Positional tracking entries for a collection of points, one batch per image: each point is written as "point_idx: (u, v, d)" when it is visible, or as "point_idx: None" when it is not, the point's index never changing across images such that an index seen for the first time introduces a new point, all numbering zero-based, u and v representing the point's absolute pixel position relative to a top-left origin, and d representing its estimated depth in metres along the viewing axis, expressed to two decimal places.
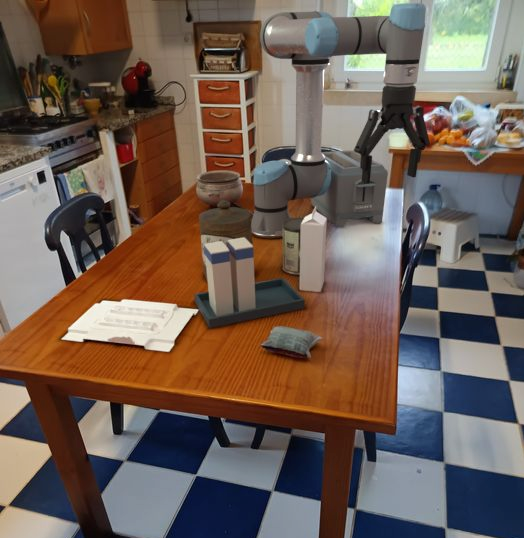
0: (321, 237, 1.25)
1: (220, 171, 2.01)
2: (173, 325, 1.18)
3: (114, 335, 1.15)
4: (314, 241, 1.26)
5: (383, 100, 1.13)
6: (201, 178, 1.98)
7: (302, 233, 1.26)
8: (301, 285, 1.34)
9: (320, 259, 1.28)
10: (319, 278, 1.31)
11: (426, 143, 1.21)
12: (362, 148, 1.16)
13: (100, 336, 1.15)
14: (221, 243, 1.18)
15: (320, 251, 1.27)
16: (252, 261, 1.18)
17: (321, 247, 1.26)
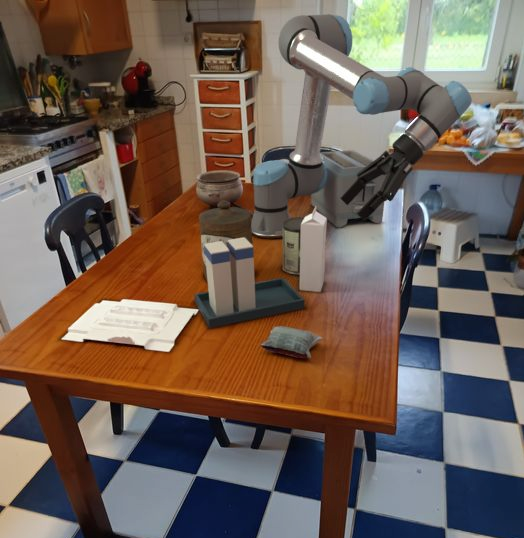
0: (321, 237, 1.25)
1: (220, 171, 2.01)
2: (173, 325, 1.18)
3: (114, 335, 1.15)
4: (314, 241, 1.26)
5: (410, 155, 1.17)
6: (201, 178, 1.98)
7: (302, 233, 1.26)
8: (301, 285, 1.34)
9: (320, 259, 1.28)
10: (319, 278, 1.31)
11: None
12: None
13: (100, 336, 1.15)
14: (221, 243, 1.18)
15: (320, 251, 1.27)
16: (252, 261, 1.18)
17: (321, 247, 1.26)
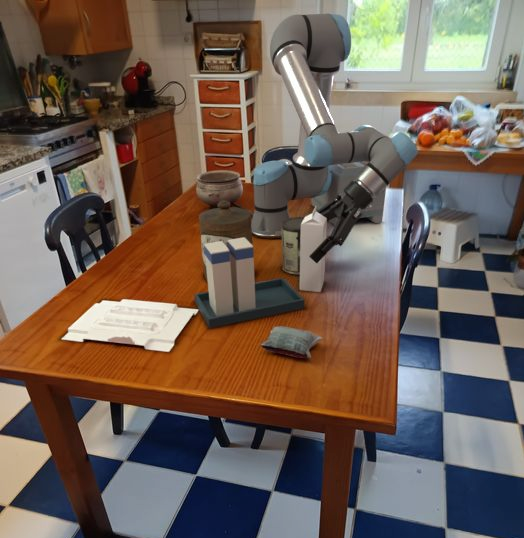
0: (321, 237, 1.25)
1: (220, 171, 2.01)
2: (173, 325, 1.18)
3: (114, 335, 1.15)
4: (314, 241, 1.26)
5: (359, 201, 1.21)
6: (201, 178, 1.98)
7: (302, 233, 1.26)
8: (301, 285, 1.34)
9: None
10: (319, 278, 1.31)
11: None
12: None
13: (100, 336, 1.15)
14: (221, 243, 1.18)
15: None
16: (252, 261, 1.18)
17: None
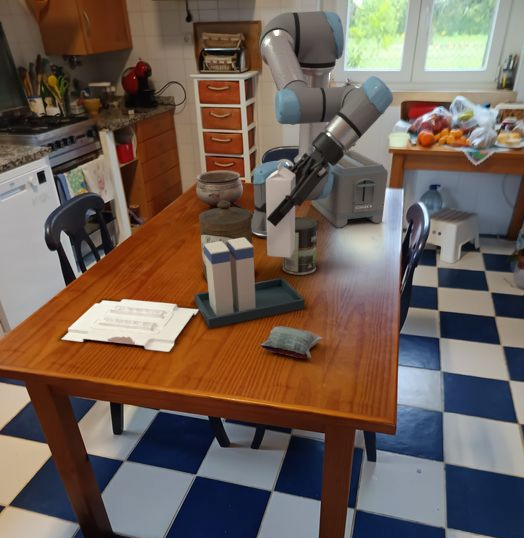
0: (289, 194, 1.13)
1: (220, 171, 2.01)
2: (173, 325, 1.18)
3: (114, 335, 1.15)
4: (281, 199, 1.14)
5: (328, 154, 1.09)
6: (201, 178, 1.98)
7: (268, 190, 1.13)
8: (269, 250, 1.21)
9: (288, 220, 1.16)
10: (288, 242, 1.19)
11: None
12: None
13: (100, 336, 1.15)
14: (221, 243, 1.18)
15: None
16: (252, 261, 1.18)
17: None
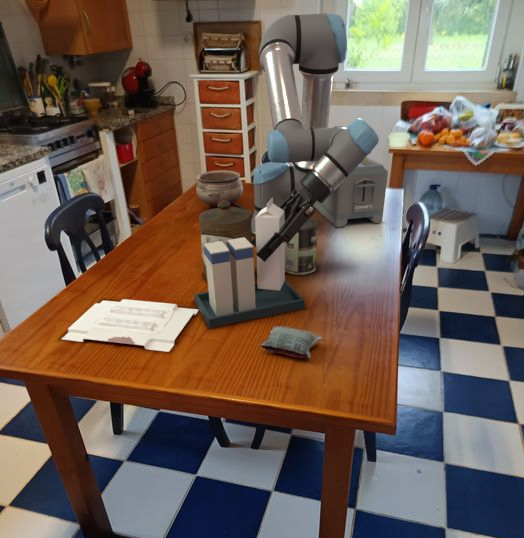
0: (277, 231, 1.16)
1: (220, 171, 2.01)
2: (173, 325, 1.18)
3: (114, 335, 1.15)
4: (271, 235, 1.17)
5: (316, 193, 1.12)
6: (201, 178, 1.98)
7: (257, 227, 1.16)
8: (259, 283, 1.25)
9: (278, 255, 1.19)
10: (278, 275, 1.22)
11: None
12: None
13: (100, 336, 1.15)
14: (221, 243, 1.18)
15: None
16: (252, 261, 1.18)
17: None
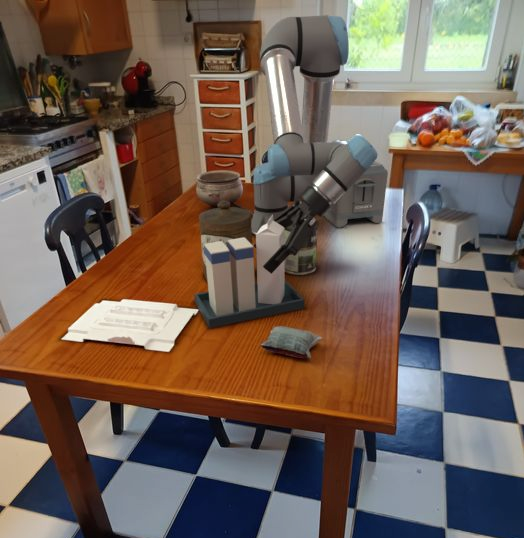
0: (278, 248, 1.18)
1: (220, 171, 2.01)
2: (173, 325, 1.18)
3: (114, 335, 1.15)
4: (271, 252, 1.19)
5: (315, 207, 1.14)
6: (201, 178, 1.98)
7: (258, 243, 1.19)
8: (259, 298, 1.27)
9: (278, 271, 1.21)
10: (278, 290, 1.24)
11: None
12: None
13: (100, 336, 1.15)
14: (221, 243, 1.18)
15: None
16: (252, 261, 1.18)
17: None
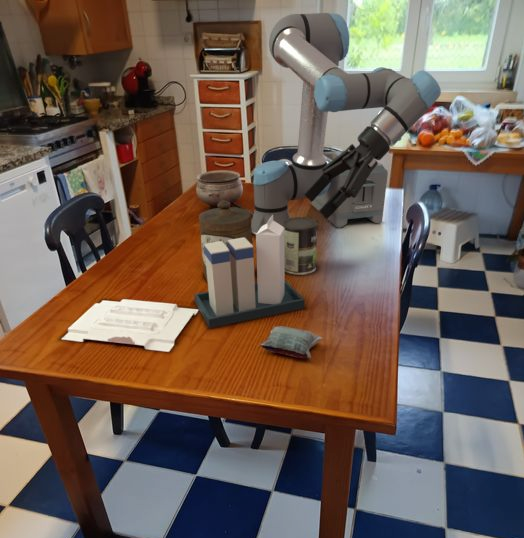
0: (278, 248, 1.18)
1: (220, 171, 2.01)
2: (173, 325, 1.18)
3: (114, 335, 1.15)
4: (271, 252, 1.19)
5: (375, 148, 1.10)
6: (201, 178, 1.98)
7: (258, 243, 1.19)
8: (259, 298, 1.27)
9: (278, 271, 1.21)
10: (278, 290, 1.24)
11: None
12: None
13: (100, 336, 1.15)
14: (221, 243, 1.18)
15: (277, 262, 1.20)
16: (252, 261, 1.18)
17: (278, 258, 1.19)
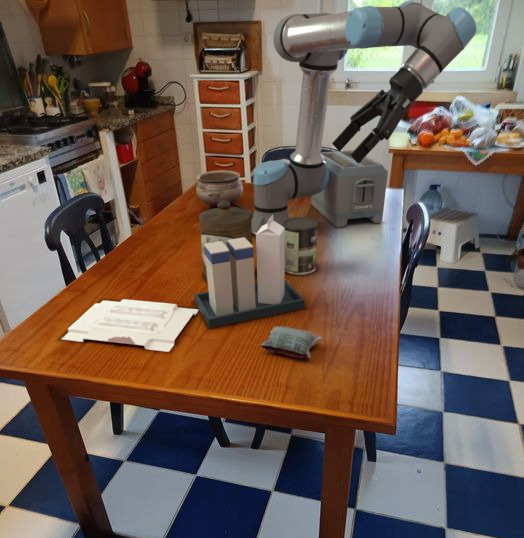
0: (278, 248, 1.18)
1: (220, 171, 2.01)
2: (173, 325, 1.18)
3: (114, 335, 1.15)
4: (271, 252, 1.19)
5: (408, 89, 1.07)
6: (201, 178, 1.98)
7: (258, 243, 1.19)
8: (259, 298, 1.27)
9: (278, 271, 1.21)
10: (278, 290, 1.24)
11: None
12: None
13: (100, 336, 1.15)
14: (221, 243, 1.18)
15: (277, 262, 1.20)
16: (252, 261, 1.18)
17: (278, 258, 1.19)
